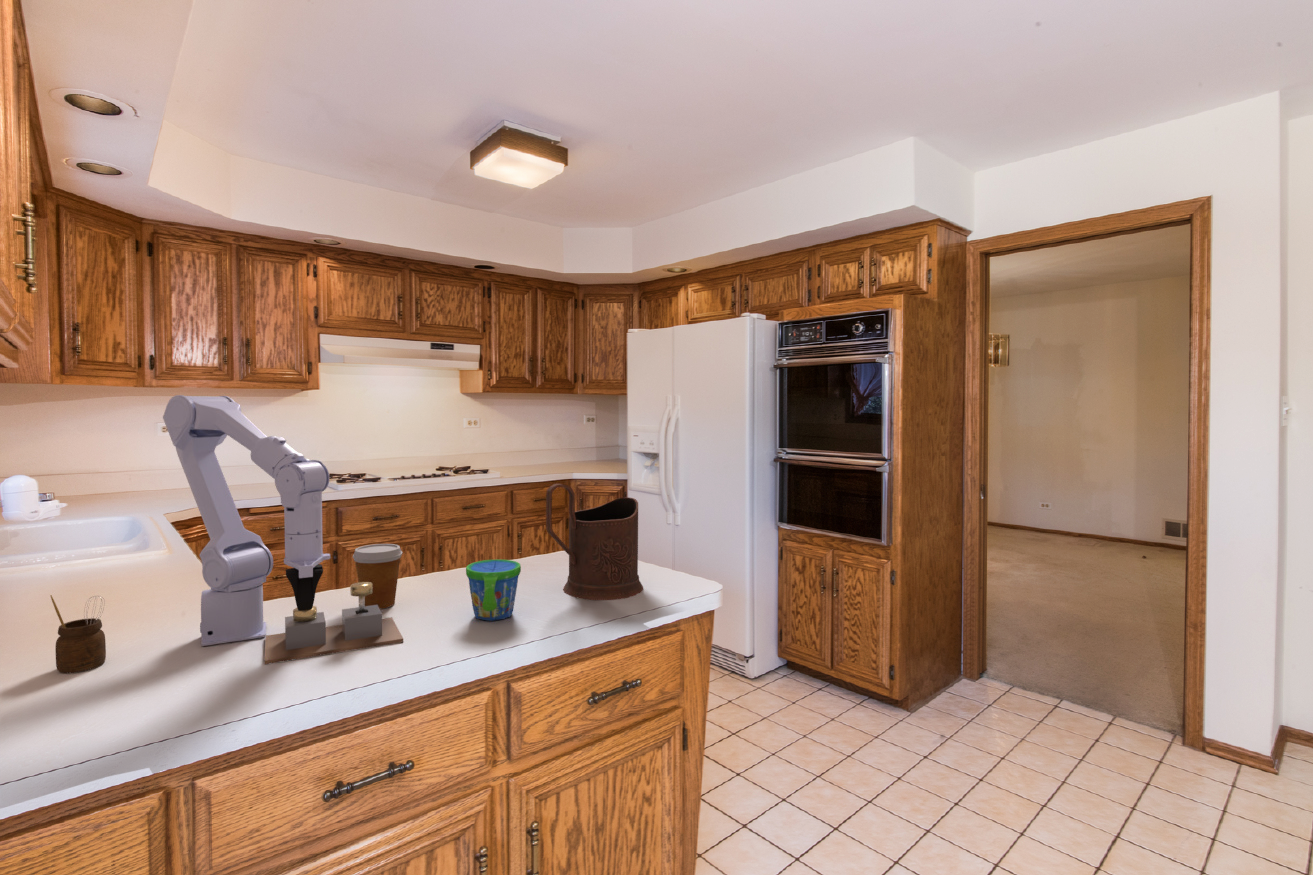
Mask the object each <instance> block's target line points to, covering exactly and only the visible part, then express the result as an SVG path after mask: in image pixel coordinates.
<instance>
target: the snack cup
mask: <svg viewBox="0 0 1313 875" xmlns="http://www.w3.org/2000/svg"><path fill="white" fill-rule="evenodd" d="M521 570H522V567H521V564H520V562H518V561H515V560H510V559H484V560H478V561H475V562H471V563H469V564H467V566H465V575H466V576H467V579H468V584H469V592H470V598H471V604H472V610H473V614H474V617H475V618H476V619H477V620H479V619H480V620H482V621H488V622H489V621H491V622H492V621H499V620H504V619H507V618H510V617H511V616H512V615H513V612H514V606H515V602H516V596H517V589H518V581H519V580H518V579H519V577H520V574H521V572H522V571H521Z"/></svg>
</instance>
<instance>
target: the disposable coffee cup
mask: <svg viewBox="0 0 1313 875" xmlns="http://www.w3.org/2000/svg"><path fill="white" fill-rule="evenodd" d="M402 555H403V551H402V549H401V547H400V545H398V544H394V543H375V544H367V545H362V546H359V547H357V548H355V549H354V554H353V555H352V558H353V561H354V563H355V568H356V569H355V570H356V575H357V583H359V582H371V583H372V594H370V595H366V596H365V606H371V605H378V607H379V609H380V610H383V609H387V608H391V607H393V606H394V605H395V604H396V595H397V589H398V588H397V586H398V580H399V579H398V577H399V570H400V562H401V557H402Z"/></svg>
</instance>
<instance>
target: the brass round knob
mask: <svg viewBox="0 0 1313 875" xmlns="http://www.w3.org/2000/svg"><path fill="white" fill-rule="evenodd" d="M349 589H350V593H349V594H350V596H352V597H358V607H359V614H360V613H365V596H366V595H370V594H372V583H371V582H359V583H358V582H355V583H352V584H351V585H350V588H349Z"/></svg>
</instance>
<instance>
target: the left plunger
mask: <svg viewBox="0 0 1313 875" xmlns="http://www.w3.org/2000/svg"><path fill="white" fill-rule="evenodd" d="M317 609H318V608H317V606H315V605H313V607H312V609H310V610H302V611H298V608H297V607H295V608H294V609H293V610H292V616H293V620H294V621H309V620H312V619H315V618H316V617H317V613H318V610H317Z"/></svg>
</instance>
